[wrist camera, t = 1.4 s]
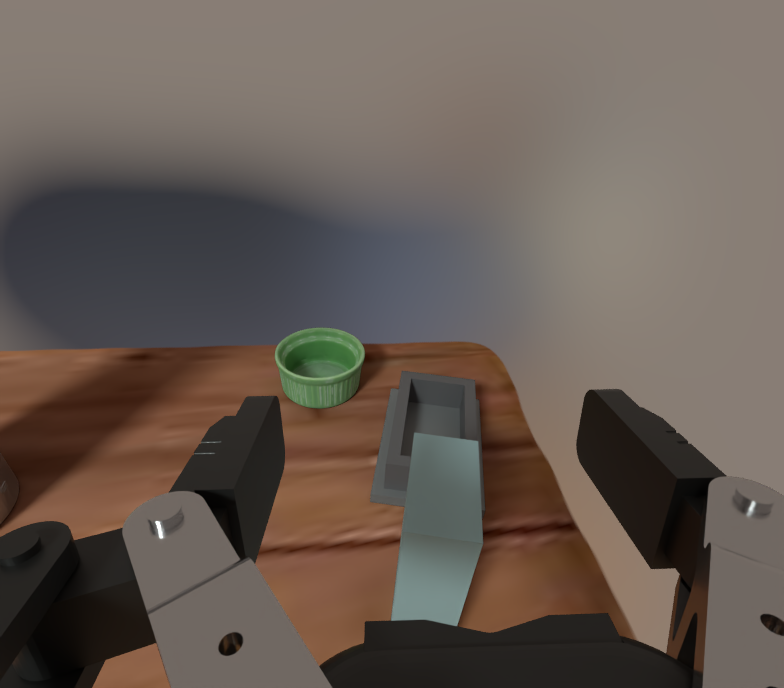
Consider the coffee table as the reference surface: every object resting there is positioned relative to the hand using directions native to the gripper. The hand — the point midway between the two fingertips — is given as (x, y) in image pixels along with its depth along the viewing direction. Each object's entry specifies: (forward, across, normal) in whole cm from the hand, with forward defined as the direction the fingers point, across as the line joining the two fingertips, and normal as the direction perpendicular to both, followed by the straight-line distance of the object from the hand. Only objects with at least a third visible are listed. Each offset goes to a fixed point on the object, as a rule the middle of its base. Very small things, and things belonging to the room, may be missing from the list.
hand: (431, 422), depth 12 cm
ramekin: (+32, +8, +16) cm, 37 cm away
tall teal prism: (+10, -1, +21) cm, 23 cm away
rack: (+24, -3, +18) cm, 30 cm away
